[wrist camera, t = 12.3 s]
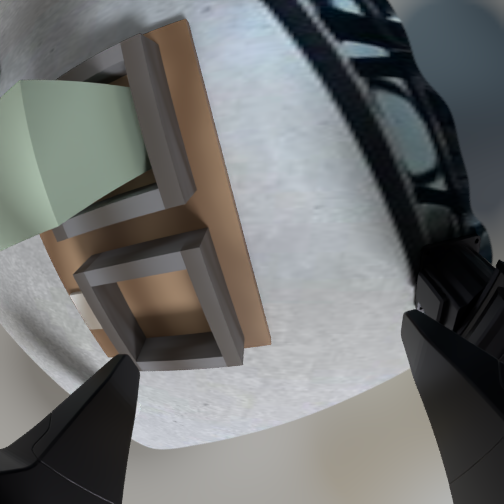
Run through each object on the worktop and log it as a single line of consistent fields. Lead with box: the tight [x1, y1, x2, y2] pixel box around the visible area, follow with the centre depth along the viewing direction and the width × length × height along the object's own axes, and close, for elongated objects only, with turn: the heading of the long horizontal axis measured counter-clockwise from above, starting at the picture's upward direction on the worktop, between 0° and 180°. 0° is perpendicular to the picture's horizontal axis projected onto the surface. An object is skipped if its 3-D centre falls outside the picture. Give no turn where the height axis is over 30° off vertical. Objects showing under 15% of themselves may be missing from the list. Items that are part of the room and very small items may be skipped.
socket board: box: [40, 19, 271, 371], centre depth 18 cm, size 17×25×4 cm
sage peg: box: [0, 80, 152, 251], centre depth 11 cm, size 6×6×10 cm
